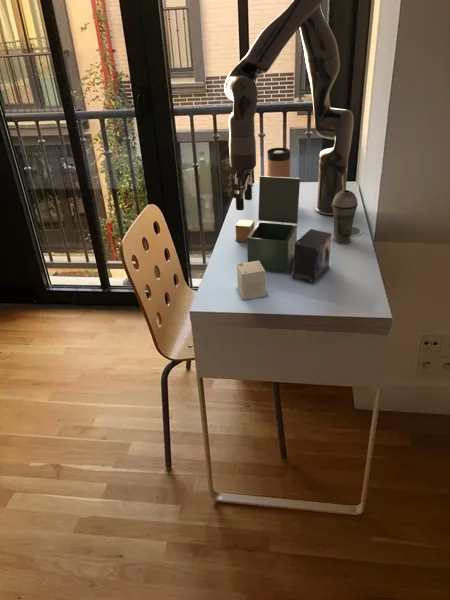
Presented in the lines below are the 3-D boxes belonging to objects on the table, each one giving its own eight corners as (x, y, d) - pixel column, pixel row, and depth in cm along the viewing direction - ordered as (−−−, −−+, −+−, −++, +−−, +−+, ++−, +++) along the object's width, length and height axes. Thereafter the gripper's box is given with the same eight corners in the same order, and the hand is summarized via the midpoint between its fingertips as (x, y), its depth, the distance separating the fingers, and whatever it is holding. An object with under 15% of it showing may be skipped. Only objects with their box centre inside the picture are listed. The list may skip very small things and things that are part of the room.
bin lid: (299, 178, 137) (300, 178, 137) (259, 176, 140) (260, 176, 141) (296, 223, 142) (297, 223, 142) (258, 220, 145) (258, 220, 145)
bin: (287, 273, 138) (287, 241, 133) (247, 268, 141) (246, 238, 136) (296, 254, 147) (297, 224, 142) (259, 250, 150) (258, 221, 145)
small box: (314, 284, 132) (316, 248, 126) (292, 279, 135) (292, 243, 129) (330, 267, 139) (332, 232, 134) (308, 262, 142) (309, 228, 137)
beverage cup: (354, 246, 149) (360, 180, 139) (329, 245, 151) (333, 179, 140) (354, 235, 156) (360, 171, 145) (330, 234, 157) (334, 171, 146)
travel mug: (293, 205, 179) (294, 148, 169) (283, 213, 174) (283, 154, 163) (273, 202, 183) (273, 146, 172) (263, 209, 177) (263, 152, 167)
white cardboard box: (266, 296, 128) (266, 270, 124) (242, 300, 127) (241, 274, 123) (259, 285, 133) (259, 260, 129) (237, 288, 132) (236, 263, 128)
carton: (240, 234, 160) (239, 219, 158) (254, 236, 159) (254, 220, 156) (236, 240, 157) (235, 225, 154) (250, 242, 155) (250, 226, 153)
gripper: (248, 158, 137) (249, 214, 145) (262, 144, 148) (262, 197, 157) (221, 157, 139) (224, 212, 148) (237, 143, 150) (239, 195, 159)
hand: (244, 204), depth 152 cm, fingers open, 8 cm apart
